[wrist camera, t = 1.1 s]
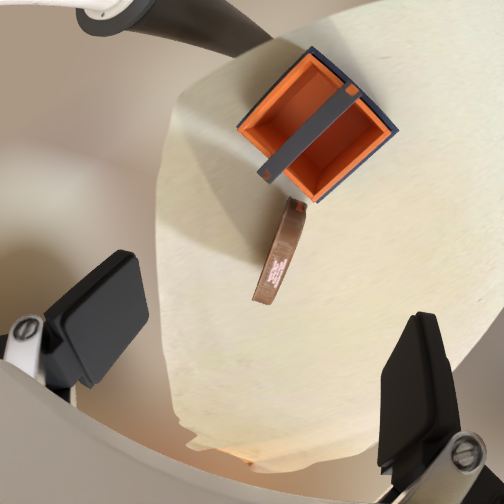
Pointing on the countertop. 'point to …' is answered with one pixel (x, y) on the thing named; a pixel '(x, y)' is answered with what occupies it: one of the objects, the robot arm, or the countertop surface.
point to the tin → (281, 251)
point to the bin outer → (363, 98)
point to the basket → (313, 128)
